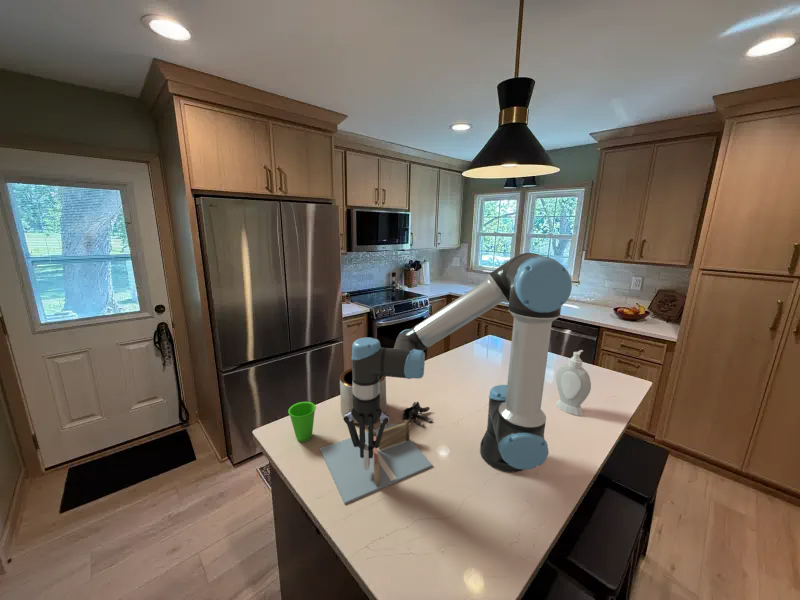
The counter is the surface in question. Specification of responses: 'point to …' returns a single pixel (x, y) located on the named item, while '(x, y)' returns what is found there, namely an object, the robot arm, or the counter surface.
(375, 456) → the hinged fence panel
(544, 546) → the counter surface
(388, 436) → the fixed fence panel
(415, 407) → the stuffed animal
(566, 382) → the soap bottle
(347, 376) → the planter
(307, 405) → the cup
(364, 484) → the card
